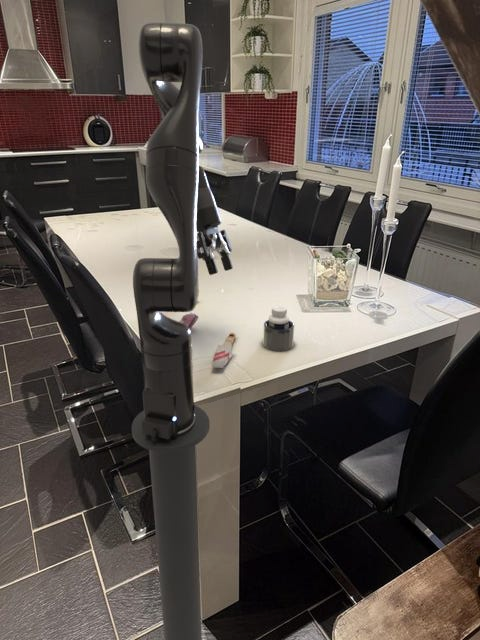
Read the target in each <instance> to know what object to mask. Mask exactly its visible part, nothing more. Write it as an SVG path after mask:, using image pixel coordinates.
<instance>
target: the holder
mask: <svg viewBox="0 0 480 640" xmlns="http://www.w3.org/2000/svg"><path fill="white" fill-rule="evenodd" d="M268 325H269V319H267V320H265V321H264V323H263V337H262V338H263V339H262V341H263V344H262V345H263V347H264V348H265V349H267V350H269V351H272V352H286V351H290V350H291V349H292V348H293V346H294V341H295V340H294V339H295V322H292V321H291V320H289V328H288V329H285V330H276V329H272V328H269V327H268Z"/></svg>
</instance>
